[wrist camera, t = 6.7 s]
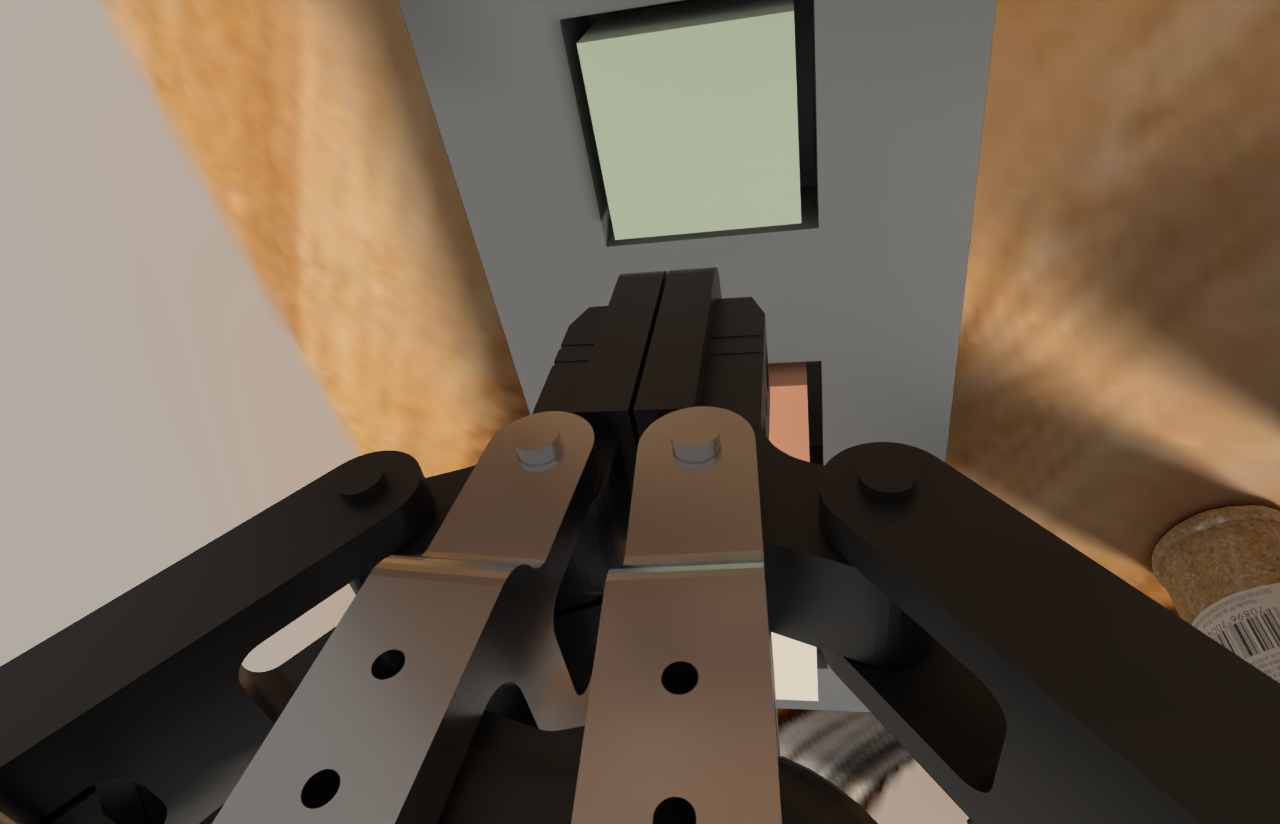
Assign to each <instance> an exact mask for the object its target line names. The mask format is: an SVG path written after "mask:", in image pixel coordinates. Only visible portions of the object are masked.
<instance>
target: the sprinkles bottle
mask: <svg viewBox="0 0 1280 824" xmlns="http://www.w3.org/2000/svg"><path fill="white" fill-rule="evenodd" d="M1151 560H1152V568H1153V573H1154V575H1155V577H1156V578H1157V580H1158V581H1159V583H1160V584H1161V585H1162V586H1164V587H1165V588H1166V589H1167V591H1168V593H1169V595H1170V597H1171V599H1172V601H1173V603H1174V605H1175V608H1176V610H1177V612H1178V614H1179V616H1180V618H1181V619H1183V620H1185V621H1186V622H1188V623H1189V624H1191V625H1192V626H1194V627H1195V628H1197V629H1198V630H1200V631H1201V632H1203V633H1204V634H1206V635H1207V636H1209V637H1210V638H1212V639H1213V640H1215V641H1216V642H1218V643H1219V644H1221V645H1222V646H1224V647H1225V648H1227V649H1229V650H1230V651H1232V652H1233V653H1235V654H1236V655H1238V656H1239V657H1241V658H1242V659H1244V660H1245V661H1247V662H1248V663H1250V664H1251V665H1253V666H1254V667H1256V668H1257V669H1259V670H1260V671H1262V672H1263V673H1265V674H1266V675H1268V676H1269V677H1271V678H1272V679H1274V680H1276V681H1277V682H1279V683H1280V511H1279V510H1276V509H1271V508H1269V507H1266V506H1254V505H1247V506H1228V507H1224V508H1219V509H1212V510H1208V511H1205V512H1202V513H1199V514H1197V515H1194V516H1193V517H1191V518H1189V519H1187V520H1185V521H1183V522H1182V523H1180V524H1178V525H1176V526H1175V527H1174V528H1172V529H1171V530H1170V531H1168V532H1167V533H1166V534H1165V535H1164V536H1163V537H1162V538H1161V539H1160V540H1159V541H1158V543H1157V545H1156V546H1155V548H1154V550H1153V554H1152V559H1151Z"/></svg>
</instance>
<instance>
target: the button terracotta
mask: <svg viewBox="0 0 1280 824" xmlns="http://www.w3.org/2000/svg"><path fill="white" fill-rule="evenodd" d="M768 368H769V384H770V417H769V421H770V423H769V441H770V442H771V443H772V444H773V445H774V446H775V447H777V448H778V449H779V450H781V451H782V452H784V453H786V454H788V455H790V456H792V457H795V458H797V459H800V460H804V461H807V462H810V453H809V424H808V396H807V371H806V362H789V363H770V364H768Z"/></svg>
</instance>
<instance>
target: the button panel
mask: <svg viewBox="0 0 1280 824" xmlns="http://www.w3.org/2000/svg"><path fill="white" fill-rule="evenodd" d="M398 1H399V5H400V8H401V11H402V14H403V17H404V20H405V23H406V27H407V30H408V33H409V36H410V39H411V42H412V45H413V48H414V52H415V55H416V58H417V61H418V64H419V67H420V70H421V74H422V77H423V80H424V83H425V86H426V89H427V92H428V95H429V99H430V102H431V105H432V108H433V111H434V114H435V117H436V121H437V124H438V127H439V130H440V133H441V136H442V139H443V142H444V146H445V149H446V152H447V155H448V158H449V161H450V164H451V168H452V171H453V174H454V177H455V180H456V183H457V186H458V190H459V193H460V196H461V199H462V202H463V205H464V208H465V211H466V215H467V218H468V221H469V224H470V227H471V230H472V233H473V237H474V240H475V243H476V246H477V249H478V252H479V255H480V258H481V262H482V265H483V268H484V271H485V274H486V277H487V280H488V284H489V287H490V290H491V293H492V296H493V299H494V302H495V305H496V309H497V312H498V315H499V318H500V321H501V324H502V327H503V331H504V334H505V337H506V340H507V343H508V346H509V349H510V352H511V356H512V359H513V362H514V365H515V368H516V371H517V374H518V378H519V381H520V384H521V387H522V390H523V393H524V396H525V399H526V403H527V406H528V409H529V412H530V415H532V413H533V410H534V408H535V406H536V403H537V401H538V398H539V396H540V394H541V391H542V389H543V387H544V384H545V382H546V379H547V377H548V375H549V372H550V370H551V368H552V366H554V360H555V358H556V356H557V353H558V351H559V349H561V344H562V341H563V339H564V337H565V334H566V332H567V330H568V327H569V325H570V324H571V323H572V322H573V321H575V320H576V319H577V318H578V317H579V316H580V315H581V314H582V313H583V312H584V311H586V310H587V309H588V308H589V307H597V306H608V305H609V302H610V299H611V296H612V294H613V291H614V288H615V285H616V282H617V280H618V277H619V275H620V274H626V273H640V272H654V271H667V272H669V271H670V270H680V269H694V268H707V267H717V269H718V272H719V278H720V287H721V297H722V298H738V297H752V298H753V299H754V300H755V302H756V303H757V304H758V305H759V307H760V308H761V309H762V311H763V312H764V313H765V322H766V337H767V353H768V364H770V363H789V362H806V371H807V396H808V424H809V453H810V462H811V463H816V464H820V465H826V463H827V462H828V461H829V460H830V459H831V458H832V457H833V456H835V455H836V454H838V453H840V452H841V451H843V450H845V449H848V448H850V447H853V446H856V445H860V444H865V443H871V442H895V443H901V444H906V445H910V446H913V447H917V448H919V449H922V450H924V451H927V452H929V453H930V454H932V455H934V456H936V457H937V458H939V459H940V460H942V461H943V462H946V453H947V444H948V435H949V426H950V417H951V408H952V399H953V390H954V381H955V372H956V363H957V354H958V345H959V336H960V327H961V318H962V309H963V300H964V291H965V282H966V273H967V264H968V255H969V246H970V237H971V228H972V219H973V210H974V201H975V192H976V183H977V174H978V165H979V156H980V147H981V137H982V128H983V119H984V110H985V101H986V92H987V83H988V74H989V65H990V56H991V47H992V38H993V29H994V20H995V11H996V2H997V0H793V3H794V24H795V53H796V81H797V110H798V139H799V167H800V196H801V223H800V224H788V225H777V226H766V227H755V228H744V229H733V230H722V231H711V232H699V233H688V234H677V235H666V236H655V237H644V238H633V239H622V240H615V236H614V231H613V226H612V221H611V216H610V211H609V206H608V201H607V196H606V191H605V186H604V181H603V176H602V170H601V165H600V160H599V155H598V150H597V145H596V140H595V135H594V130H593V125H592V120H591V115H590V110H589V105H588V99H587V94H586V89H585V84H584V79H583V74H582V69H581V64H580V59H579V54H578V49H577V44H576V43H577V42H578V41H579V40H580V39H581V38H582V37H583V35H584V34H585V33H586V32H587V31H588V30H589V29H590V28H591V26H592V25H593V24H594V23H595V22H596V21H597V20H598V18H599V17H600V16H601V15H605V14H611V13H617V12H624V11H630V10H636V9H643V8H649V7H656V6H662V5H668V4H675V3H681V2H687V1H694V0H398ZM817 676H818V701H801V700H778V699H776V706H777V708H784V709H806V710H828V711H849V712H870V711H869V710H868V708H867V707H866V706H865V705H864V704H863V703H862V702H861V701H860V700H859V699H858V698H857V697H856V696H855V695H854V693H853V692H852V691H851V690H850V689H849V688H848V687H847V686H846V685H845V684H844V683H843V682H842V681H841V680H840V678H839V677H838V676H837V675H836V674H835V673H834V672H833V671H832V669H831V668H830V667H829V665H828V663H827V662H826V660H825V658H824V655H823V651H822V649H821V648H818V647H817Z"/></svg>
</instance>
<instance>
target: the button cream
mask: <svg viewBox="0 0 1280 824" xmlns="http://www.w3.org/2000/svg"><path fill="white" fill-rule="evenodd" d="M771 638H772V652H773V665H774V679H775V693H776V699H778V700H801V701H818V676H817V647H815V646H812V645H809V644H806V643H803V642H800V641H797V640H794V639H791V638H788V637H785V636H782V635H779V634H776V633H773V632H771Z"/></svg>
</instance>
